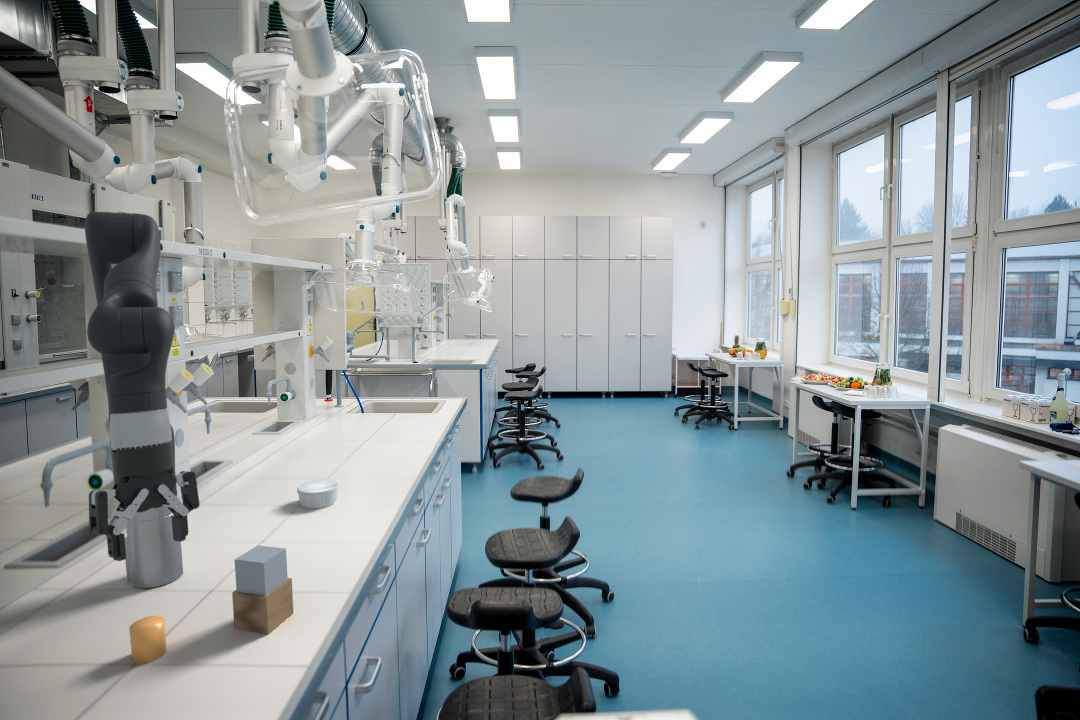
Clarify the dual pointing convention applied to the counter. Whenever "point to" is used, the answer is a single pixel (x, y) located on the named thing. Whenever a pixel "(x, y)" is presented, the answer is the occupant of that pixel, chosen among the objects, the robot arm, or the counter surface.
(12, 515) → the counter surface
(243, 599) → the walnut base cube
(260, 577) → the grey top cube
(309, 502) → the ramekin
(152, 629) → the orange rounded cylinder
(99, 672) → the counter surface
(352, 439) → the counter surface
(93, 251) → the robot arm
